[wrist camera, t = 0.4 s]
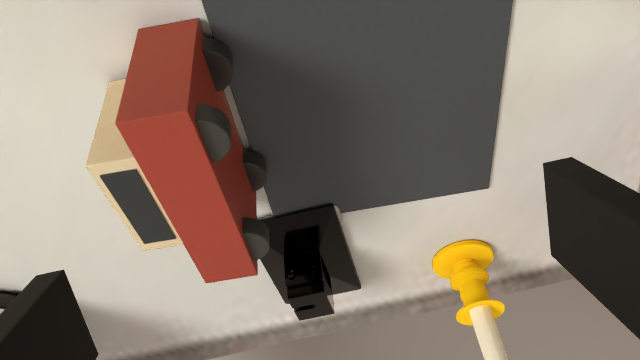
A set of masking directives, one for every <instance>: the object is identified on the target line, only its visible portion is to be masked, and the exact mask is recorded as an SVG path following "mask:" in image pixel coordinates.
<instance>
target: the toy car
mask: <svg viewBox="0 0 640 360" xmlns="http://www.w3.org/2000/svg"><path fill="white" fill-rule="evenodd" d="M232 77H233V57H232V54H231V52H230V50H229V49H228V48H227V47H226V46H225V45H224V44H223V43H221V42H220V41H217V40H215V39H211V38H205V37H204V34H203V31H202V28H201V25H200V22H199V20H198V19H192V20H186V21H181V22H176V23H170V24H165V25H159V26H154V27H148V28H143V29H139V30H138V33H137V37H136V41H135V45H134V49H133V53H132V57H131V61H130V65H129V69H128V73H127V77H126V79H122V80H116V81H110V82H109V85H108V88H107V92H106V95H105V99H104V103H103V106H102V110H101V113H100V117H99V120H98V124H97V127H96V131H95V134H94V138H93V141H92V145H91V148H90V152H89V155H88V159H87V162H86V168H87V169H88V171H89V172H90V174H91V175H92V177H93V178H94V180H95V181H96V183H97V184H98V186H99V187H100V189H101V190H102V192H103V193H104V195H105V196H106V198H107V199H108V201H109V202H110V203H111V205H112V206H113V208H114V209H115V211H116V212H117V214H118V215H119V217H120V218H121V220H122V221H123V223H124V224H125V226H126V227H127V229H128V230H129V232H130V233H131V235H132V236H133V237H134V239H135V240H136V242H137V243H138V245H139V246H140V248H141V249H142V251H146V250H152V249H158V248H164V247H170V246H176V245H182V244H184V246H185V247H186V249H187V251H188V253H189V255H190V256H191V258H192V260H193V262H194V263H195V265H196V267H197V269H198V270H199V272H200V274H201V276H202V277H203V279H204V281H205V283H211V282H217V281H223V280H229V279H236V278H242V277H248V276H254V275H257V274H258V270H257V260H258V259H260V258H262V257H263V256H265V255H266V254H267V252H268V250H269V229H268V227H267V226H266V224H265V223H263V222H262V221H260V220H258V219H257V215H256V191H257V190H259V189H260V188H262V187H263V186H264V185H265V183H266V181H267V166H266V161H265V160H264V158H263V157H262V156H261V155H259V154H258V153H255V152H252V151H244V148H243V145H242V142H241V140H240V137H239V134H238V131H237V128H236V125H235V122H234V120H233V117H232V114H231V111H230V108H229V105H228V102H227V100H226V97H225V94H224V91H223V89H225V88H226V87H227V86H228V85H229V84H230V82H231V80H232Z"/></svg>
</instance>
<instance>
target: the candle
mask: <svg viewBox="0 0 640 360" xmlns="http://www.w3.org/2000/svg"><path fill="white" fill-rule="evenodd" d="M493 256H494V254H493V251H492V249H491V247H490V246H489V245H488V244H487V243H484V242H482V241H477V240H465V241H460V242H456V243H453V244H450V245H448V246H447V247H445V248H443V249H442V250H440V251H439V252H438V253H437V254H436V256H435V257H434V259H433V262H432V264H433V269H434V271H435V273H436V274H437V275H439V276H440V277H443V278H446V279H450V285H451V287H452V289H454V290H455V291H459V292H460V297H461V300H462V301H463V303H464V307H463V308H461V309H460V310H459V311H458V312H457V314H456V319H457V321H458V322H460V323H461V324H465V325H473V326H474V329H475V332H476V335H477V338H478V341H479V345H480V348H481V350H482V353H483V357H484V360H508V358H507V355H506V352H505V349H504V346H503V343H502V340H501V337H500V334H499V331H498V329H497V326H496V323H495V320H494V319H496V318H498V317H499V316H500V315H501V314H502V313H503V312H504V309H505V307H504V304H503V303H501V302H500V301H497V300H490V298H489V297H488V290H487V289H486V287H485V284H486V283H487V282H488V280H489V276H488V273H487V271H486V270H485V269H486V268H487V267H488V266H489V265H490V264H491V262H492V260H493Z"/></svg>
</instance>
